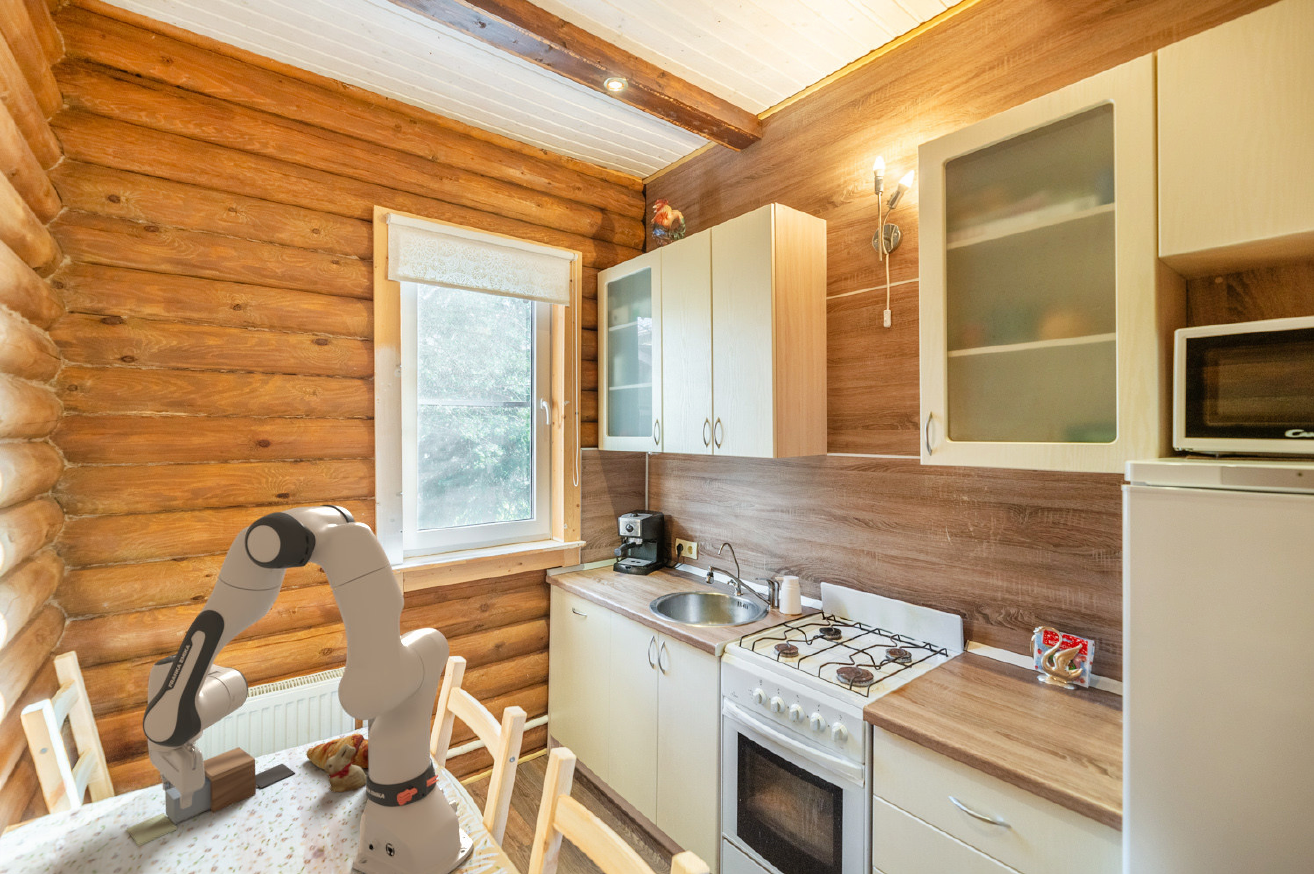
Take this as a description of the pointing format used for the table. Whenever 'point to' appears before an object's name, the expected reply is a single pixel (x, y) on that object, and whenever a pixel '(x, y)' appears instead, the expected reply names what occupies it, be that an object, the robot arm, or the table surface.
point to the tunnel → (217, 790)
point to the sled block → (199, 804)
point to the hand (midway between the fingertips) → (177, 797)
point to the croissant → (331, 748)
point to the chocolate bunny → (344, 771)
